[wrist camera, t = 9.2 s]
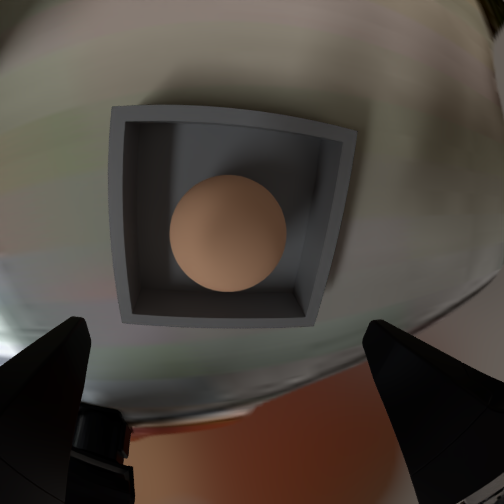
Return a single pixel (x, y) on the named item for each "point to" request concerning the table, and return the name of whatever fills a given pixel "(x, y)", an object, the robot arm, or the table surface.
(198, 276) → the ball
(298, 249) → the grey open square tray
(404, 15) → the table surface
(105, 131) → the table surface
